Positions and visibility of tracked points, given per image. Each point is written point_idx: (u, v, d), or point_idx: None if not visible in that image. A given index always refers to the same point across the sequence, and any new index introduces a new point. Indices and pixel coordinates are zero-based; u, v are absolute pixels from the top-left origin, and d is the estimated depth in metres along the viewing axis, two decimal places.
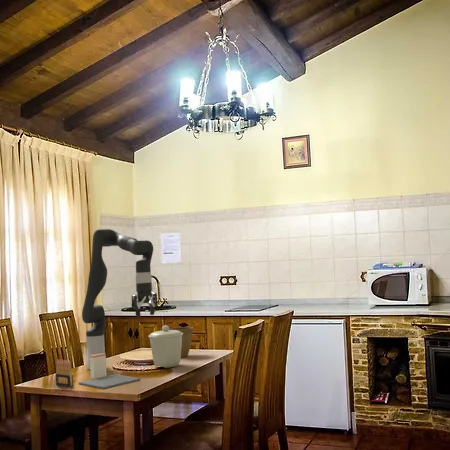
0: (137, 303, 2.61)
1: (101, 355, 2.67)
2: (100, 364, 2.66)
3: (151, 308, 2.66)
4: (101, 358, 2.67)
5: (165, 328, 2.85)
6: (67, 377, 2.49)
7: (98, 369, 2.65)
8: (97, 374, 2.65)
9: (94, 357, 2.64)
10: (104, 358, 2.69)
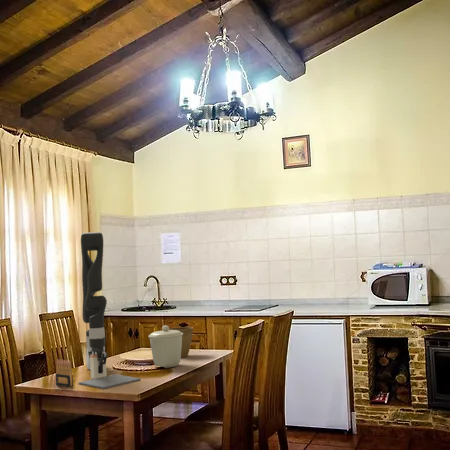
0: None
1: None
2: None
3: None
4: None
5: (165, 328, 2.85)
6: (67, 377, 2.49)
7: None
8: (97, 374, 2.65)
9: (94, 357, 2.64)
10: None
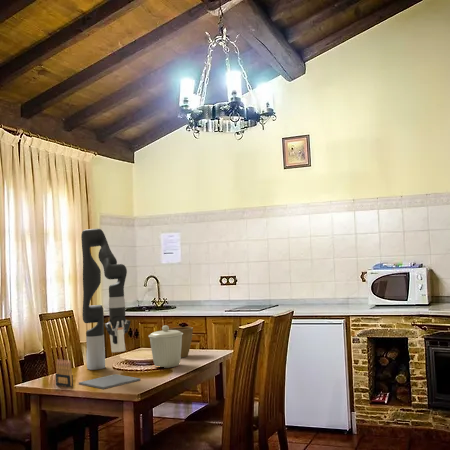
0: (123, 329, 2.61)
1: None
2: None
3: None
4: None
5: (165, 328, 2.85)
6: (67, 377, 2.49)
7: None
8: None
9: None
10: None
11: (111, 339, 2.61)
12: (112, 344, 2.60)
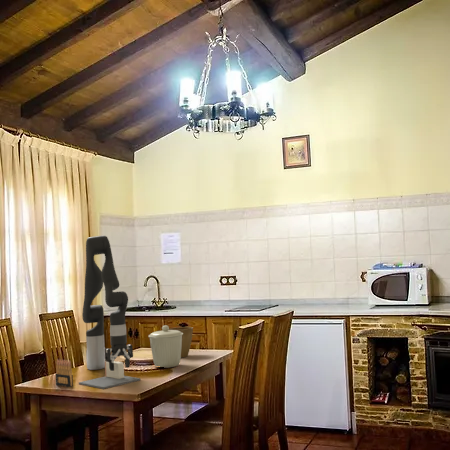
0: None
1: None
2: None
3: None
4: None
5: (165, 328, 2.85)
6: (67, 377, 2.49)
7: None
8: None
9: None
10: None
11: (111, 375, 2.60)
12: (114, 375, 2.59)
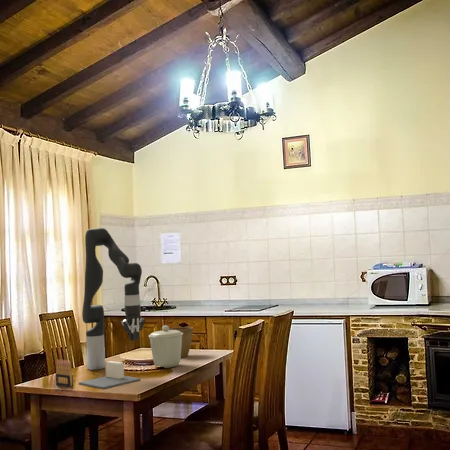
0: None
1: None
2: None
3: None
4: None
5: (165, 328, 2.85)
6: (67, 377, 2.49)
7: None
8: None
9: None
10: None
11: (111, 375, 2.60)
12: (114, 375, 2.59)
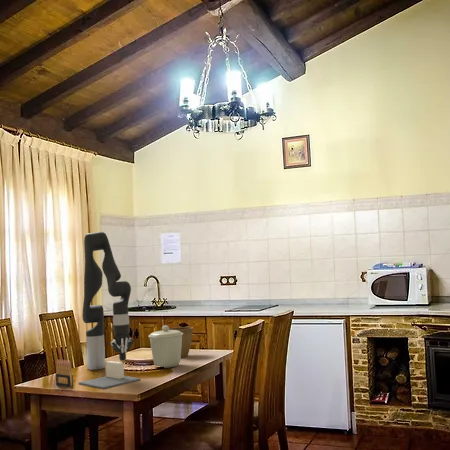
0: None
1: None
2: None
3: None
4: None
5: (165, 328, 2.85)
6: (67, 377, 2.49)
7: None
8: None
9: None
10: None
11: (111, 375, 2.60)
12: (114, 375, 2.59)
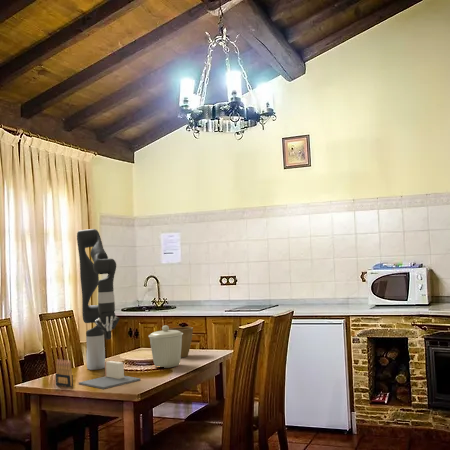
0: None
1: None
2: None
3: None
4: None
5: (165, 328, 2.85)
6: (67, 377, 2.49)
7: None
8: None
9: None
10: None
11: (111, 375, 2.60)
12: (114, 375, 2.59)
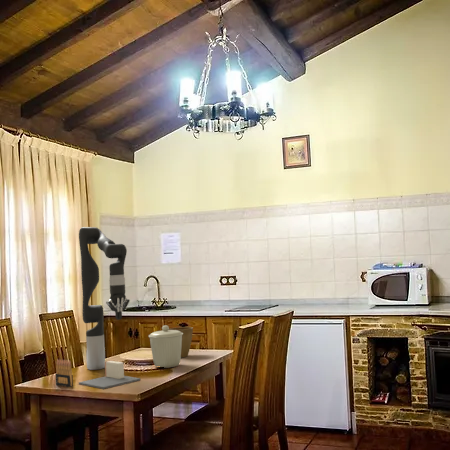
0: None
1: None
2: None
3: None
4: None
5: (165, 328, 2.85)
6: (67, 377, 2.49)
7: None
8: None
9: None
10: None
11: (111, 375, 2.60)
12: (114, 375, 2.59)
